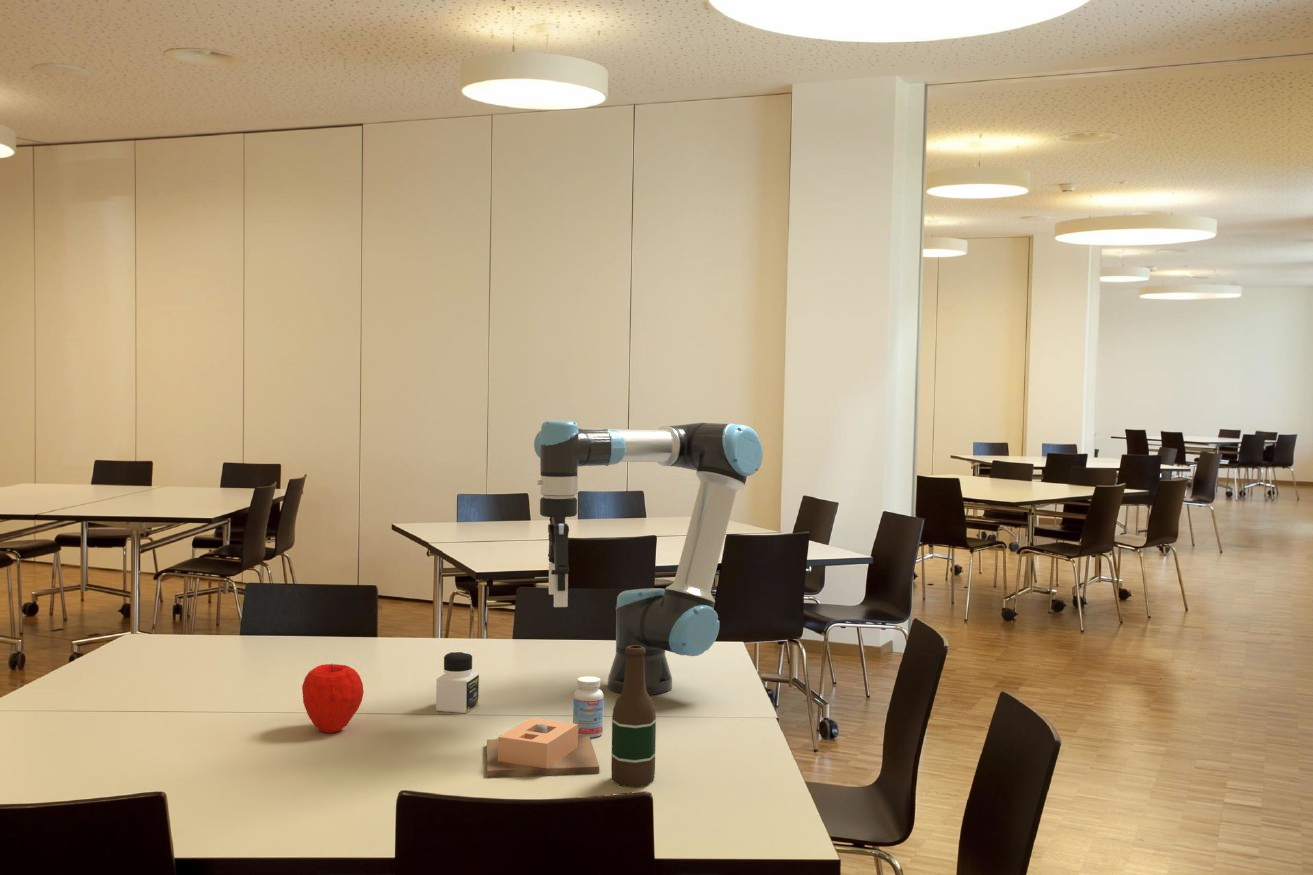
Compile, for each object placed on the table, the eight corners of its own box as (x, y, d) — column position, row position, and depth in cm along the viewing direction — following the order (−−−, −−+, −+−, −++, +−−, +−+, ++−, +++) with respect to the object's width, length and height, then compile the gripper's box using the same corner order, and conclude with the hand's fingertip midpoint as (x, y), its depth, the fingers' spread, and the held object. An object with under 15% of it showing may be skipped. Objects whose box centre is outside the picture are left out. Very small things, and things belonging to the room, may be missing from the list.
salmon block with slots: (530, 740, 214) (531, 717, 214) (577, 747, 210) (577, 724, 210) (497, 760, 202) (498, 736, 202) (546, 768, 198) (547, 743, 198)
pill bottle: (580, 740, 219) (581, 684, 218) (568, 731, 224) (568, 676, 224) (607, 736, 221) (608, 680, 221) (595, 728, 227) (596, 673, 226)
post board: (589, 742, 217) (589, 710, 217) (599, 772, 200) (599, 739, 200) (486, 745, 214) (487, 713, 214) (487, 777, 197) (487, 742, 196)
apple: (374, 725, 226) (374, 660, 226) (340, 741, 215) (340, 673, 215) (325, 718, 230) (325, 655, 230) (289, 734, 219) (289, 667, 218)
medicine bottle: (467, 713, 235) (467, 658, 235) (435, 711, 237) (436, 655, 236) (478, 704, 242) (479, 650, 242) (448, 702, 244) (449, 648, 243)
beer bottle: (610, 772, 200) (612, 641, 199) (653, 772, 201) (655, 641, 200) (612, 788, 192) (614, 651, 191) (656, 787, 193) (659, 651, 192)
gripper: (536, 491, 236) (535, 589, 237) (544, 502, 211) (543, 612, 212) (571, 490, 237) (570, 588, 238) (583, 502, 213) (582, 611, 214)
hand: (557, 600), depth 225 cm, fingers open, 13 cm apart
